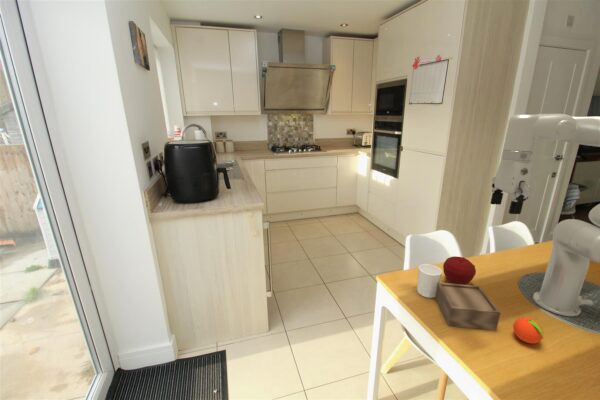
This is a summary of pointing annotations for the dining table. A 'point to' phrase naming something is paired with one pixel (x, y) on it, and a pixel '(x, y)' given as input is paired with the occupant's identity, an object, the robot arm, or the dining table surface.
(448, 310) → the walnut stand
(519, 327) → the clementine
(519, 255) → the dining table surface
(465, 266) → the apple
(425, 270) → the white cup
